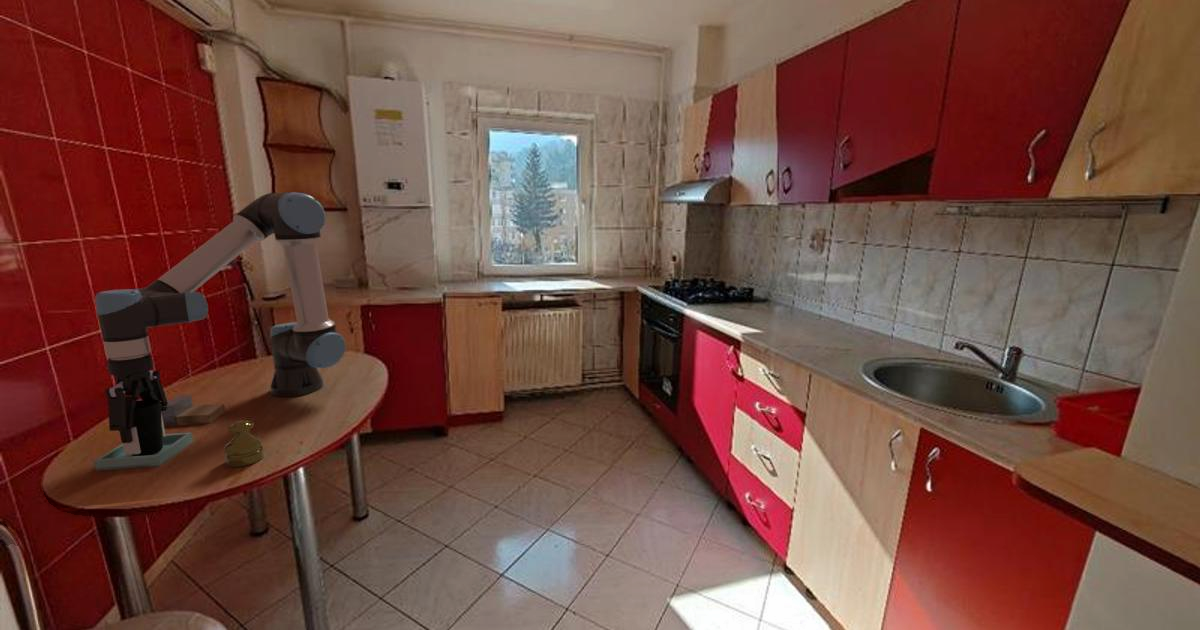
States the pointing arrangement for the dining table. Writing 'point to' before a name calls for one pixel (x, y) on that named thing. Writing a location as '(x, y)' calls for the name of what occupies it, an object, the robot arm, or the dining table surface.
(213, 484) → the dining table surface
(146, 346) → the robot arm
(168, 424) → the block
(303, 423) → the dining table surface
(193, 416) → the tan square block
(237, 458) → the olive yellow vase
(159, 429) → the cup
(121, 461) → the tray
